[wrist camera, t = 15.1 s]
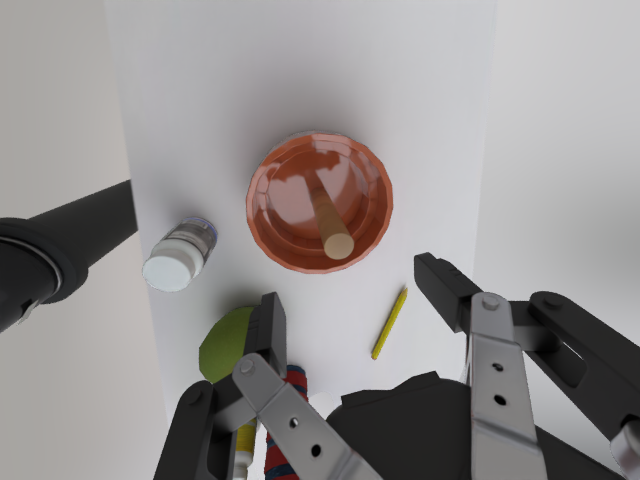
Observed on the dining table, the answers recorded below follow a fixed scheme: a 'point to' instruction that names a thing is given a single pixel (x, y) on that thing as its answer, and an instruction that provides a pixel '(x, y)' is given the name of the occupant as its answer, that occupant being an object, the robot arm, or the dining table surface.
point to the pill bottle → (180, 255)
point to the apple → (224, 345)
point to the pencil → (389, 324)
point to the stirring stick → (331, 226)
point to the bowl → (295, 206)
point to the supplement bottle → (244, 449)
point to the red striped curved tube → (276, 465)
